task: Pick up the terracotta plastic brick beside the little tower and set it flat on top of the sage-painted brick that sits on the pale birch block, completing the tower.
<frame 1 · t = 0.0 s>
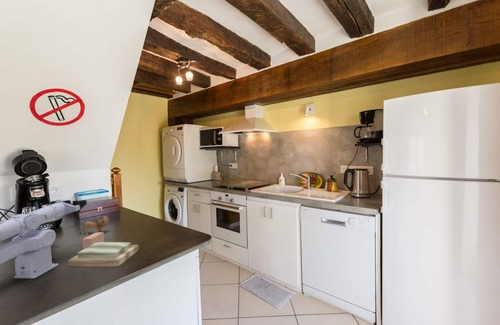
hand: (78, 202, 101), 22 cm above the countertop, tool horizontal, fingers open, 7 cm apart
lion figurine: (95, 233, 121), on the countertop
tower base: (106, 257, 92), on the countertop
terracotta brick: (94, 245, 105), on the countertop
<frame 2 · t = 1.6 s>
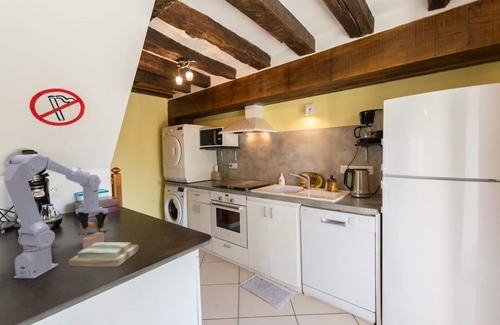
hand: (93, 228, 104), 8 cm above the countertop, tool pointing down, fingers open, 7 cm apart
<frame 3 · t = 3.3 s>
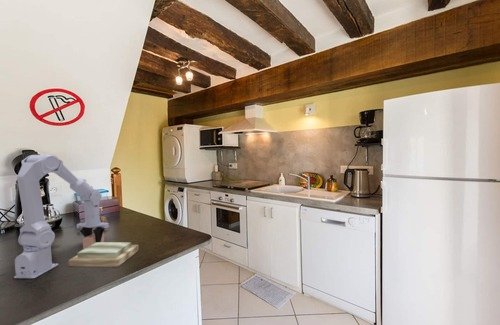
hand: (93, 242, 105), 1 cm above the countertop, tool pointing down, fingers closed on terracotta brick, 4 cm apart
terracotta brick: (94, 245, 105), on the countertop, touching gripper
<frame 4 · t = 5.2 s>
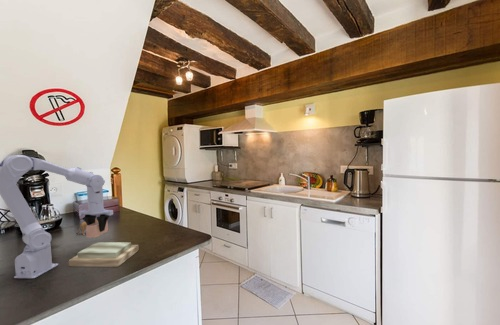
hand: (97, 230, 99), 9 cm above the countertop, tool pointing down, fingers closed on terracotta brick, 4 cm apart
terracotta brick: (97, 234, 99), point 7 cm above the countertop, touching gripper
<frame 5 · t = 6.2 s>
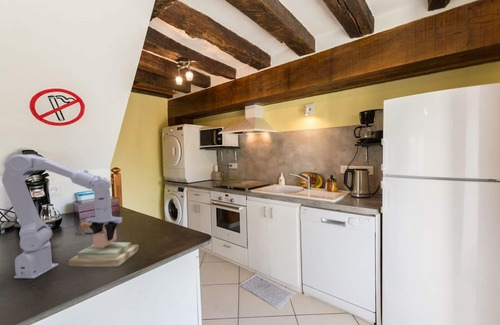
hand: (105, 239, 91), 8 cm above the countertop, tool pointing down, fingers closed on terracotta brick, 4 cm apart
terracotta brick: (105, 243, 92), point 6 cm above the countertop, touching gripper
when the fingers open (7 cm above the countertop, at t = 7.2 s): terracotta brick stays where it is, resting on tower base.
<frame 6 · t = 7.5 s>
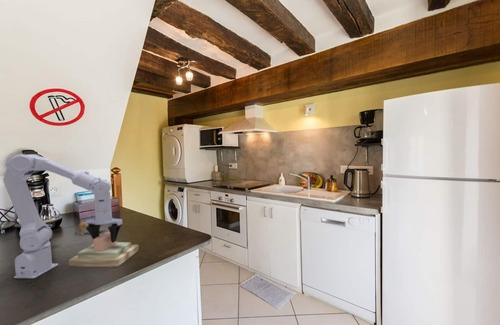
hand: (105, 241, 91), 7 cm above the countertop, tool pointing down, fingers open, 7 cm apart
terracotta brick: (105, 247, 92), point 4 cm above the countertop, touching tower base
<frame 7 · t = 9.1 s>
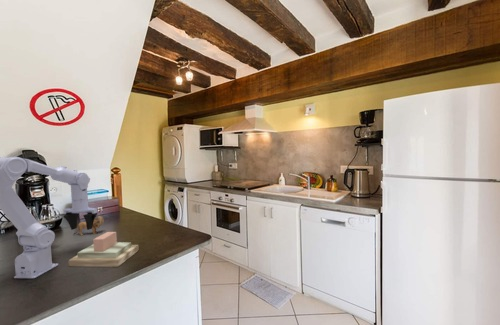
hand: (81, 228, 99), 10 cm above the countertop, tool pointing down, fingers open, 7 cm apart
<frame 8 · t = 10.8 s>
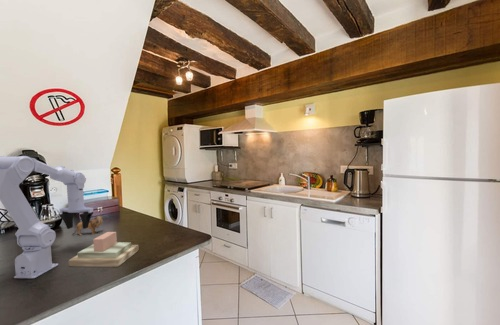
hand: (77, 228, 100), 10 cm above the countertop, tool pointing down, fingers open, 7 cm apart
at the end: terracotta brick inside the target area on the tower base (0.1 cm from its centre), point 4.5 cm above the tower base's base; terracotta brick tilted 0°; the gripper is holding nothing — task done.
